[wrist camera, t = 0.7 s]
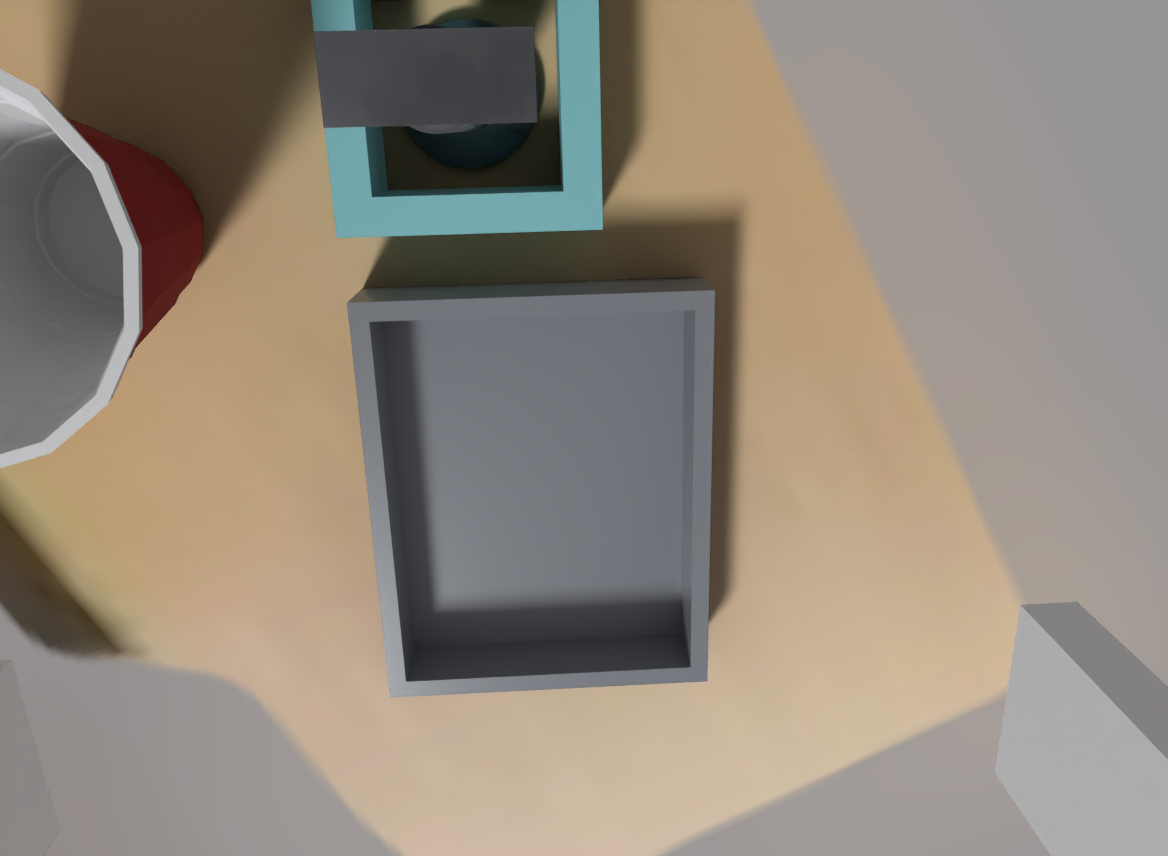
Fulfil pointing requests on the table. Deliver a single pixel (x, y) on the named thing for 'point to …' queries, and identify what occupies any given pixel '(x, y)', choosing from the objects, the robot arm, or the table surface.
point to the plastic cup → (78, 266)
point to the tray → (539, 481)
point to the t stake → (434, 86)
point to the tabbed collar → (482, 209)
